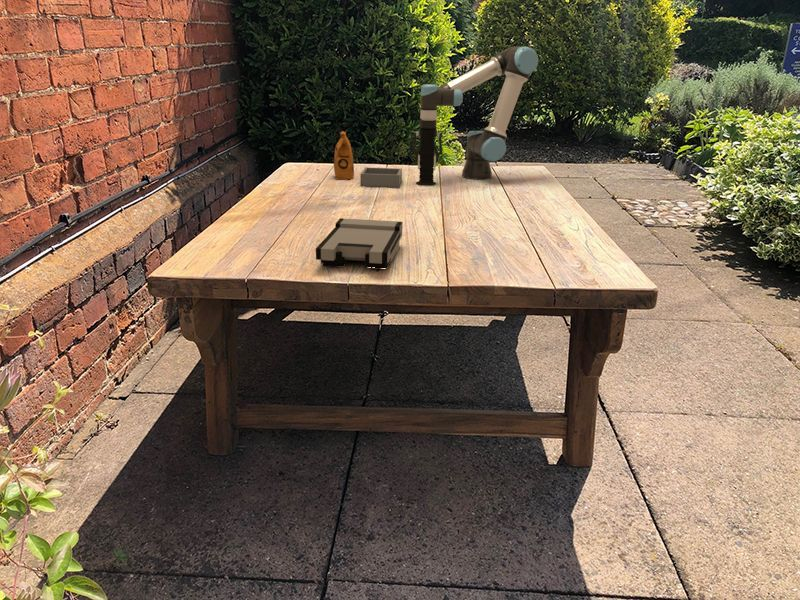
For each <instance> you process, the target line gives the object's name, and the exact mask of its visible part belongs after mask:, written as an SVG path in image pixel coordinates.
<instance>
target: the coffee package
mask: <svg viewBox="0 0 800 600" xmlns="http://www.w3.org/2000/svg"><path fill="white" fill-rule="evenodd" d="M339 135H340V139H339V140H338V142H337V143H336V145H335V148H334V155H333V168H334V169H333V171H334V175H335V178H336V179H337V180H338V179H339V180H341V179H352V180H353V178H354V176H355V170H354V168H355V166H354V155H353V151H352V146H351V142H350V140H349V139H348V137H347V132H346V131H343V130H342V131H341V132H339Z"/></svg>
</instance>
